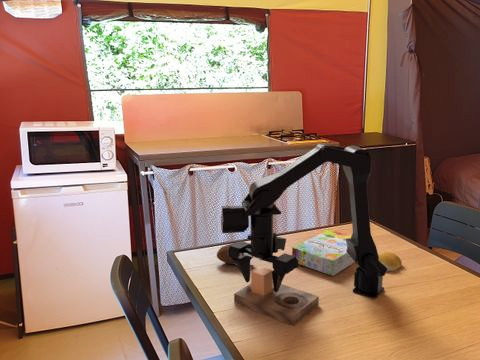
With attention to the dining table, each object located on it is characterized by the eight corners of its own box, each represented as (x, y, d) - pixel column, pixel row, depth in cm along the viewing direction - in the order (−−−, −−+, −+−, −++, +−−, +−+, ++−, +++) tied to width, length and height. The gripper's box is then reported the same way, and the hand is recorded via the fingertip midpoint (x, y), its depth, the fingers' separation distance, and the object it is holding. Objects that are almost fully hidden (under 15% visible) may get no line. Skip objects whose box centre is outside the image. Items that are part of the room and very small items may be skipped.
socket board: (318, 305, 115) (318, 296, 114) (293, 325, 106) (293, 316, 105) (261, 285, 126) (261, 277, 125) (234, 302, 117) (234, 293, 116)
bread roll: (405, 265, 138) (406, 252, 137) (392, 274, 132) (393, 262, 131) (379, 257, 144) (380, 246, 143) (366, 266, 137) (367, 254, 137)
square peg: (272, 298, 119) (272, 270, 117) (263, 304, 116) (263, 275, 114) (260, 293, 121) (260, 266, 119) (251, 299, 118) (251, 271, 116)
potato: (216, 260, 143) (215, 239, 141) (252, 258, 144) (252, 237, 142) (217, 269, 136) (216, 247, 135) (255, 267, 138) (255, 245, 136)
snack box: (291, 263, 140) (333, 277, 130) (291, 246, 139) (333, 259, 129) (328, 244, 155) (368, 254, 145) (328, 228, 154) (369, 238, 144)
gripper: (310, 229, 114) (308, 285, 118) (251, 215, 126) (251, 267, 130) (286, 242, 106) (285, 302, 110) (225, 226, 117) (227, 281, 121)
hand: (261, 286), depth 118 cm, fingers open, 9 cm apart
